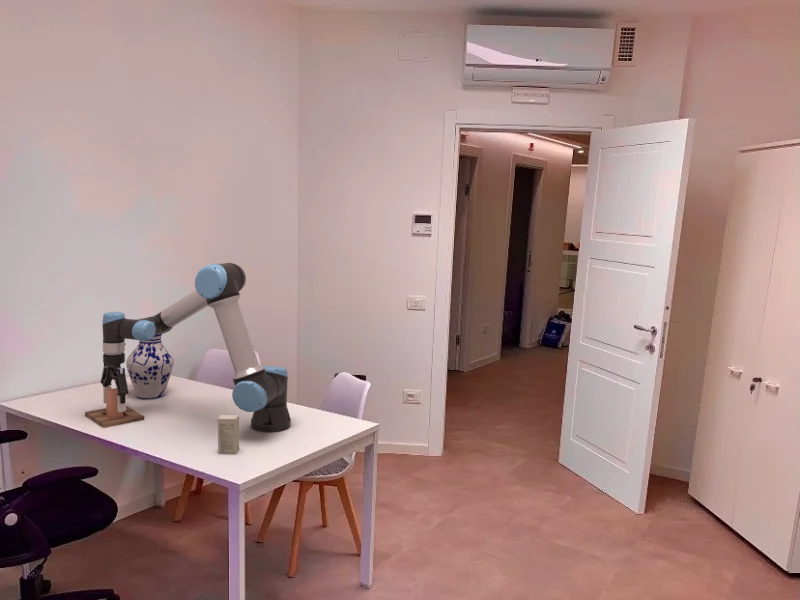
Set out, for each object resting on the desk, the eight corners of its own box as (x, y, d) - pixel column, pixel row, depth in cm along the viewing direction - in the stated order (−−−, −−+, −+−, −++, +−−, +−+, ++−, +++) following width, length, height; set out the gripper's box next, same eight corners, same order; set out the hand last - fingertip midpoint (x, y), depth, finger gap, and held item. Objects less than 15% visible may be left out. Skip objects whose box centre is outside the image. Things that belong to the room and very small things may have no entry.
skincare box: (239, 449, 206) (240, 414, 204) (236, 454, 201) (237, 418, 200) (220, 448, 205) (220, 414, 204) (217, 453, 201) (217, 418, 200)
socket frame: (144, 419, 230) (144, 416, 230) (103, 428, 220) (103, 424, 219) (124, 408, 243) (124, 404, 242) (85, 415, 232) (84, 411, 232)
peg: (123, 418, 231) (122, 390, 230) (110, 420, 228) (110, 392, 227) (118, 415, 234) (118, 387, 233) (106, 417, 231) (106, 389, 230)
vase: (174, 400, 256) (174, 331, 252) (125, 403, 249) (124, 332, 245) (173, 388, 274) (173, 323, 270) (127, 391, 267) (127, 324, 263)
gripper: (138, 357, 222) (138, 413, 225) (111, 346, 239) (111, 397, 242) (117, 360, 217) (117, 417, 219) (91, 348, 234) (91, 401, 236)
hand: (114, 407), depth 231 cm, fingers open, 13 cm apart
